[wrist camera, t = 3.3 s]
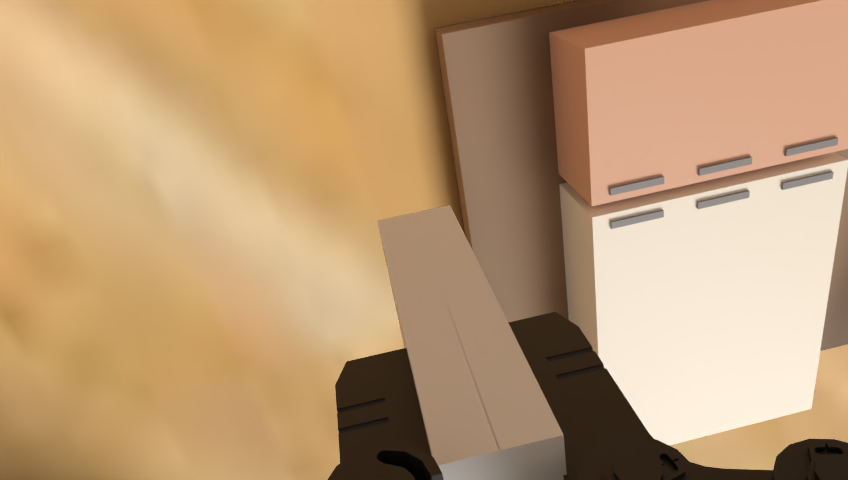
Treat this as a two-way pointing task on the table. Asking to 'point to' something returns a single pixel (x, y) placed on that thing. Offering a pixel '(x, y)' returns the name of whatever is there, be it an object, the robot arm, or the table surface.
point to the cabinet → (698, 93)
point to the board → (538, 155)
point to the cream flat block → (708, 293)
